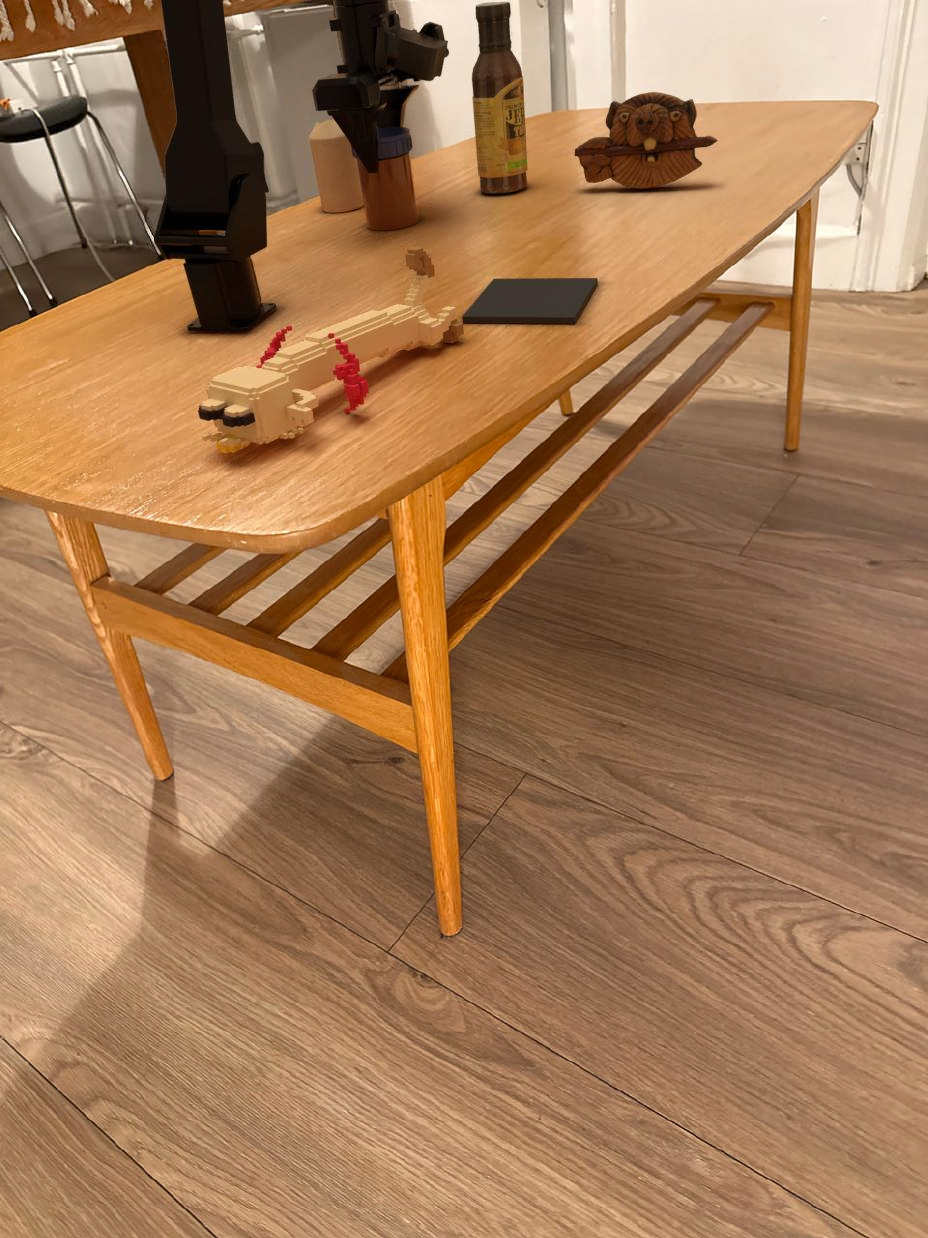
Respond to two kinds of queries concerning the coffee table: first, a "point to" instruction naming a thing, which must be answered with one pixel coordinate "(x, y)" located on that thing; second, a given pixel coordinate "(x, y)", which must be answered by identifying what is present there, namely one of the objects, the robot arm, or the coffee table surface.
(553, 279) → the mat
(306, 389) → the voxel animal figurine
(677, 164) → the wooden carving
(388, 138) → the lid
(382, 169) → the jar
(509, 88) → the sauce bottle
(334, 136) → the candle
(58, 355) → the coffee table surface
